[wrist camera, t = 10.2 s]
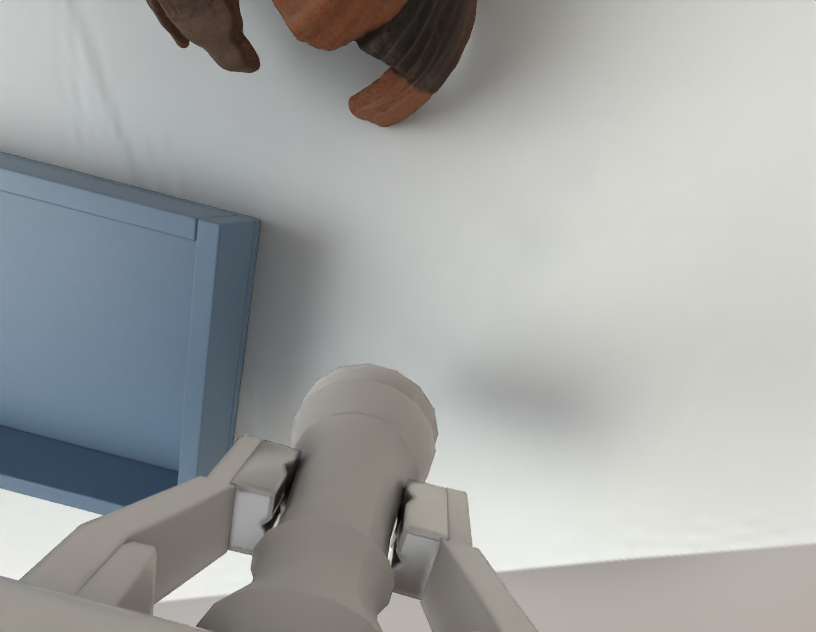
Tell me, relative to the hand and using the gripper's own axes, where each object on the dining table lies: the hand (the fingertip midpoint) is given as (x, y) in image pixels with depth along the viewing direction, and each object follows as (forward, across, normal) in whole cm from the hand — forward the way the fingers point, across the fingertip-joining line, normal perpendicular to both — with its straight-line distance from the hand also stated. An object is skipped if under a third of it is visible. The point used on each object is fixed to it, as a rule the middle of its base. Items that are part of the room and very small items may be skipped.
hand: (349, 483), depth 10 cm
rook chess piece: (+3, 0, 0) cm, 3 cm away
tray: (+7, +16, +2) cm, 18 cm away
